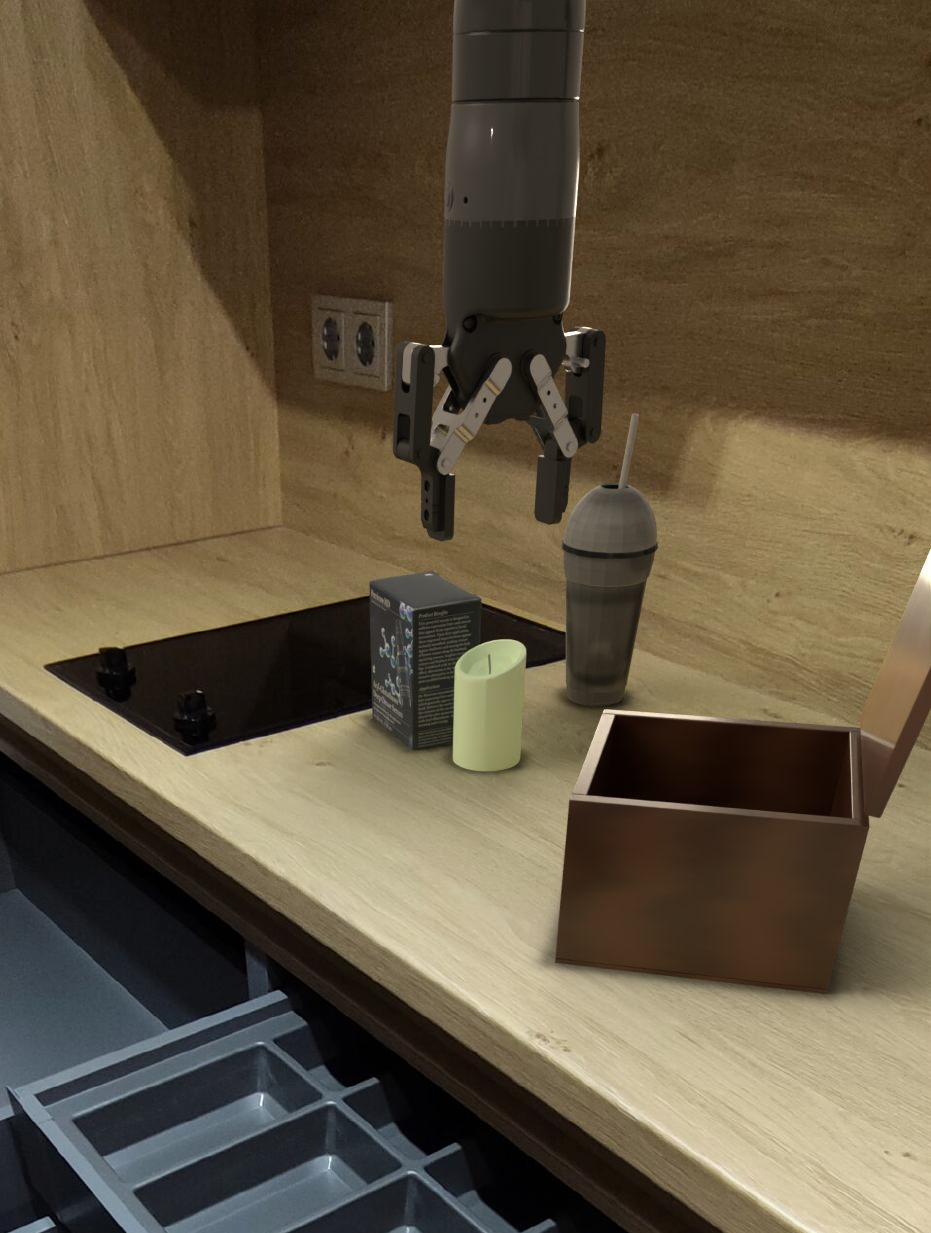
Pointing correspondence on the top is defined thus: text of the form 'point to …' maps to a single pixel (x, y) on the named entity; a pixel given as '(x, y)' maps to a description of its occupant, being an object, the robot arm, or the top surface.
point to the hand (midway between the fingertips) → (495, 530)
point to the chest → (713, 849)
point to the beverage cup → (606, 584)
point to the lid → (898, 700)
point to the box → (419, 654)
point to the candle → (489, 706)
